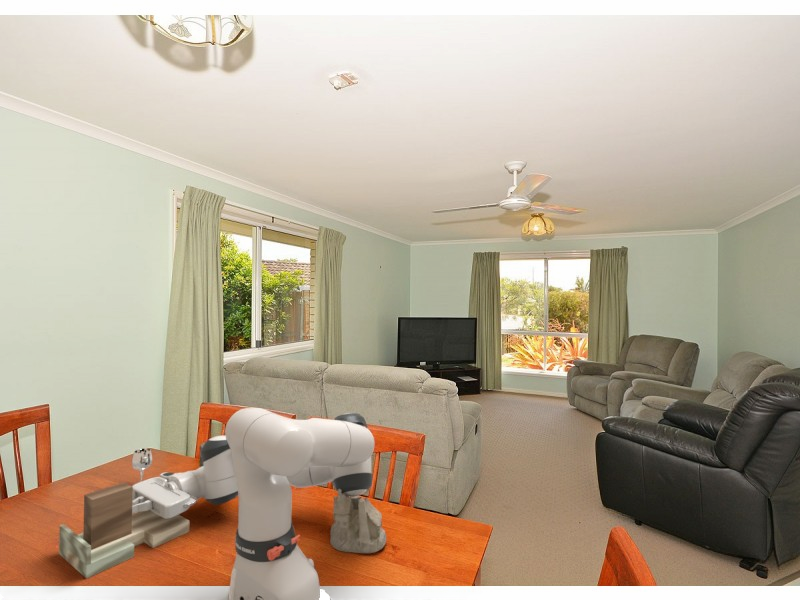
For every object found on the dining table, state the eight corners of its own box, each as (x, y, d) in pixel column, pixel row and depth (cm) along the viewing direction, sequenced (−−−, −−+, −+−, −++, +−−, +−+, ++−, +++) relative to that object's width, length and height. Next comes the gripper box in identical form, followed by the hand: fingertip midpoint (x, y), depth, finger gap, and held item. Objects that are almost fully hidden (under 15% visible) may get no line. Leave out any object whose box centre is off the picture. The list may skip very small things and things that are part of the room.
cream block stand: (189, 531, 116) (189, 506, 116) (86, 578, 96) (87, 547, 96) (158, 514, 125) (159, 490, 125) (58, 553, 105) (59, 525, 105)
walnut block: (131, 533, 109) (132, 486, 109) (90, 550, 102) (92, 500, 102) (123, 527, 112) (124, 482, 112) (83, 543, 104) (84, 494, 104)
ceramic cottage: (377, 557, 105) (372, 496, 105) (318, 549, 111) (314, 491, 111) (398, 524, 120) (394, 471, 120) (345, 518, 125) (342, 467, 125)
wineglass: (127, 488, 141) (128, 452, 141) (142, 481, 146) (143, 446, 146) (140, 491, 139) (141, 454, 139) (155, 484, 144) (156, 449, 144)
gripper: (200, 511, 116) (147, 534, 105) (161, 491, 128) (110, 510, 116) (201, 488, 116) (148, 508, 105) (162, 470, 128) (110, 486, 116)
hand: (127, 509), depth 111 cm, fingers closed
